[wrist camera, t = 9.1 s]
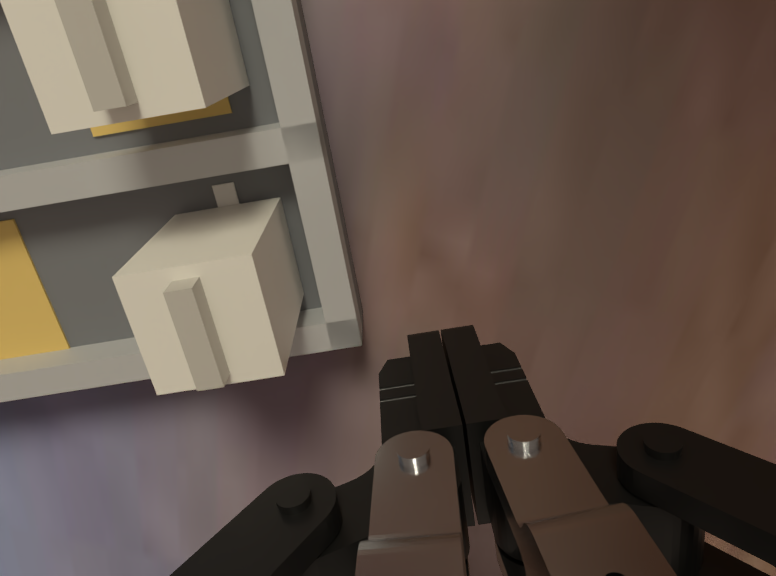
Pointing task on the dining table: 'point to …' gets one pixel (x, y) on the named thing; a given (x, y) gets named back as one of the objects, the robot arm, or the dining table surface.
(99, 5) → the tab
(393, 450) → the robot arm
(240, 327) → the tab
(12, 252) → the switch bank
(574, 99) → the dining table surface
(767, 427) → the dining table surface
